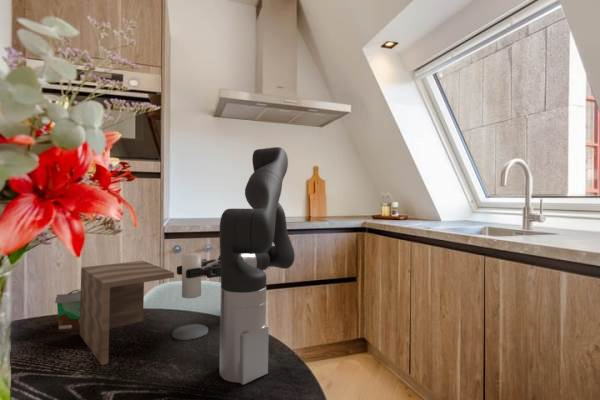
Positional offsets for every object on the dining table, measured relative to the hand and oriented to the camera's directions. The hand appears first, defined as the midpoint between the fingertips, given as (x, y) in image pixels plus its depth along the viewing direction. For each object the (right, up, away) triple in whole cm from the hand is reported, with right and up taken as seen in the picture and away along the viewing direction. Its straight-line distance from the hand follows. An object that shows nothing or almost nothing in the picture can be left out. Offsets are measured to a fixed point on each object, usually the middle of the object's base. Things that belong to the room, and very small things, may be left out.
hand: (182, 272), depth 82 cm
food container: (-30, -16, +6) cm, 34 cm away
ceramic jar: (+2, -7, +2) cm, 7 cm away
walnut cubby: (-13, -16, -3) cm, 21 cm away
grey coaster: (+2, -16, +2) cm, 16 cm away
